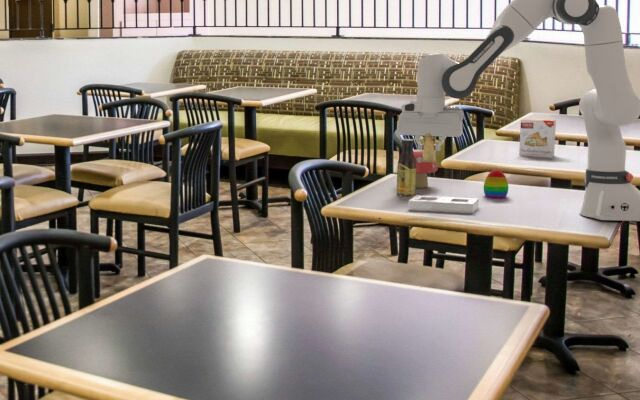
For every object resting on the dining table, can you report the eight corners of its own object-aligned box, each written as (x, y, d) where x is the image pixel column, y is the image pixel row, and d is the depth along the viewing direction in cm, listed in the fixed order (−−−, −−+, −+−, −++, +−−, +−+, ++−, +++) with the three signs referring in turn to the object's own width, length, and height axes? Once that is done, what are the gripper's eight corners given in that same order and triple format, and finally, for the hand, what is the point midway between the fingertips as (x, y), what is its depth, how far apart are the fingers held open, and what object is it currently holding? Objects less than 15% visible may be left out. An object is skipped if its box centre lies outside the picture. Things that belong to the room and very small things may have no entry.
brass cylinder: (436, 161, 293) (437, 132, 291) (434, 162, 289) (435, 133, 288) (423, 160, 294) (424, 132, 293) (421, 162, 290) (422, 133, 289)
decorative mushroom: (390, 191, 328) (391, 149, 326) (415, 188, 337) (416, 146, 335) (420, 196, 319) (421, 152, 316) (444, 192, 328) (445, 149, 325)
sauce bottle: (393, 197, 316) (394, 138, 313) (410, 196, 318) (411, 138, 315) (401, 199, 310) (402, 140, 307) (418, 199, 312) (419, 139, 309)
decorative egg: (502, 201, 307) (503, 171, 306) (479, 199, 312) (480, 169, 310) (511, 198, 314) (512, 169, 313) (488, 196, 319) (489, 167, 317)
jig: (478, 207, 295) (478, 198, 295) (472, 213, 284) (473, 204, 283) (416, 204, 301) (416, 195, 300) (408, 210, 290) (408, 200, 289)
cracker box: (518, 168, 397) (520, 119, 394) (521, 166, 403) (522, 118, 399) (551, 170, 392) (553, 120, 389) (553, 168, 397) (556, 119, 394)
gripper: (465, 106, 289) (463, 150, 291) (400, 104, 295) (399, 148, 297) (462, 107, 283) (460, 152, 285) (396, 105, 289) (395, 150, 291)
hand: (429, 150), depth 291 cm, fingers closed on brass cylinder, 4 cm apart
